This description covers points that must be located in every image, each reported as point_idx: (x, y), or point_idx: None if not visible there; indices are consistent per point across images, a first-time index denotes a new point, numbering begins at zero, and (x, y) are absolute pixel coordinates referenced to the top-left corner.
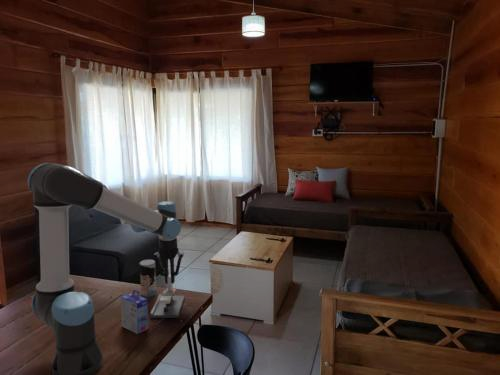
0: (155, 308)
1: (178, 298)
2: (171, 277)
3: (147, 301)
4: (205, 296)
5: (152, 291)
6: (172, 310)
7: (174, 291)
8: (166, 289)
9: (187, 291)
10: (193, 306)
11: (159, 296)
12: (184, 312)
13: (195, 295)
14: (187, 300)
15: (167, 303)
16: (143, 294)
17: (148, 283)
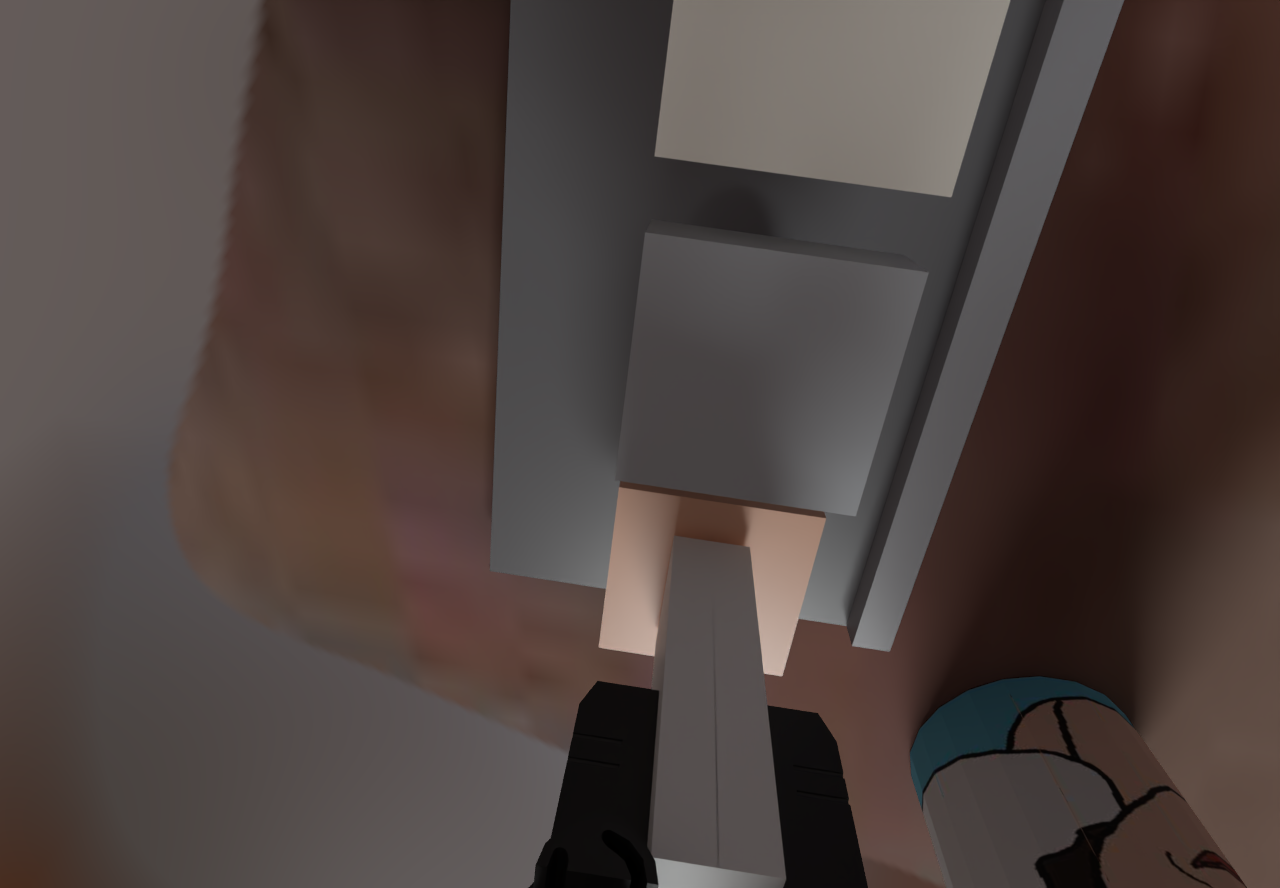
0: (1009, 142)
1: (574, 496)
2: (618, 828)
3: None
4: (205, 539)
5: (998, 743)
6: (651, 36)
7: (612, 543)
8: (782, 647)
9: (483, 707)
10: (315, 258)
11: (895, 577)
12: (435, 45)
13: (354, 590)
14: (446, 471)
15: None
16: (1124, 721)
17: (1146, 884)
